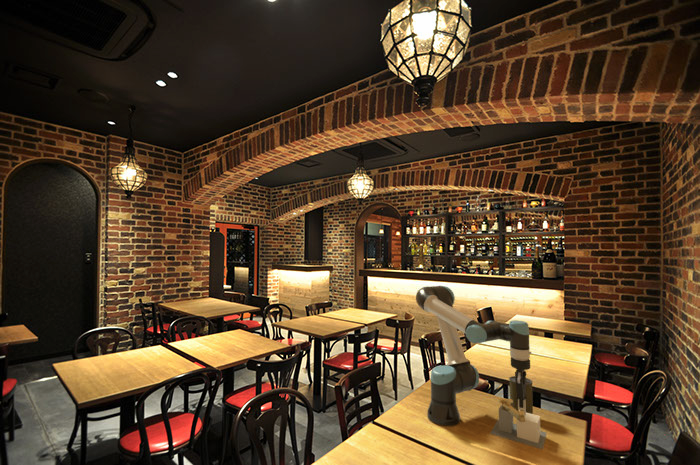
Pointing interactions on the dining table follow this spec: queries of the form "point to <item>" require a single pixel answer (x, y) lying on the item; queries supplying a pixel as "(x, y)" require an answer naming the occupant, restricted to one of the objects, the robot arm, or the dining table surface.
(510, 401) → the latch bar
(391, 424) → the dining table surface
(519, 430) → the cover
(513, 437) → the latch base
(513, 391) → the canister
